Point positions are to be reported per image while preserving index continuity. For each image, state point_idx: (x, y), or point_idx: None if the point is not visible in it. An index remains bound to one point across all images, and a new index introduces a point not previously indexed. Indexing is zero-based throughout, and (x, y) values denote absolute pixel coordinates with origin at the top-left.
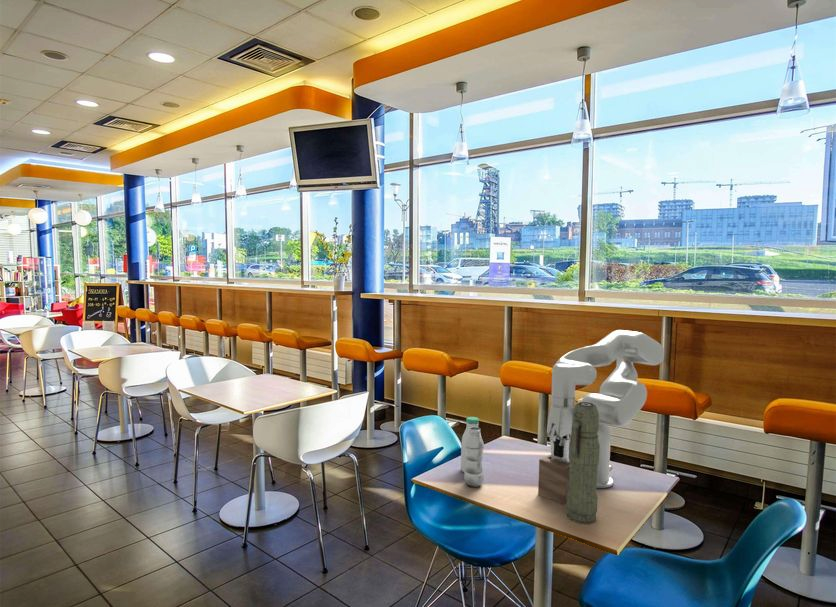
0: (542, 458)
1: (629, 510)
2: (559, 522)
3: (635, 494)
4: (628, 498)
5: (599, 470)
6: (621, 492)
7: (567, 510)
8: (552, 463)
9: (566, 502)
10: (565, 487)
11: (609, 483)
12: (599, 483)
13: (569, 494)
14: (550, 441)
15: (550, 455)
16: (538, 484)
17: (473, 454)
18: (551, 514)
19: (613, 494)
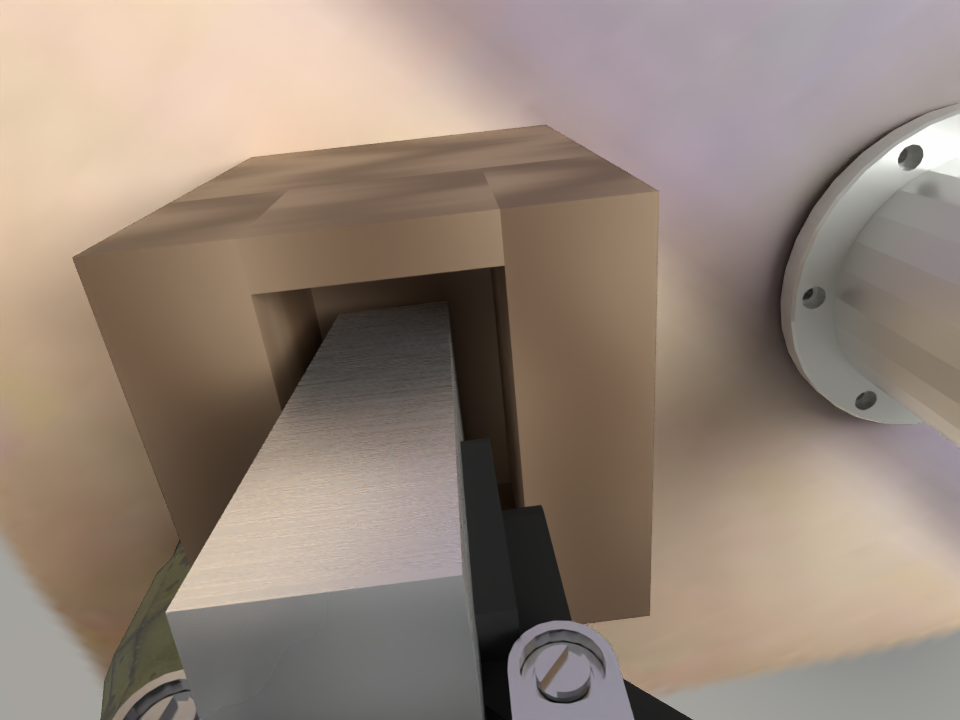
0: (162, 264)
1: (616, 647)
2: (72, 549)
3: (882, 556)
4: (784, 565)
5: (940, 432)
6: (851, 497)
7: (182, 547)
8: (169, 494)
9: None
10: None
11: (912, 417)
12: (856, 376)
13: (107, 686)
14: (212, 541)
15: (431, 242)
16: (223, 173)
17: None
18: (97, 458)
19: (775, 489)
